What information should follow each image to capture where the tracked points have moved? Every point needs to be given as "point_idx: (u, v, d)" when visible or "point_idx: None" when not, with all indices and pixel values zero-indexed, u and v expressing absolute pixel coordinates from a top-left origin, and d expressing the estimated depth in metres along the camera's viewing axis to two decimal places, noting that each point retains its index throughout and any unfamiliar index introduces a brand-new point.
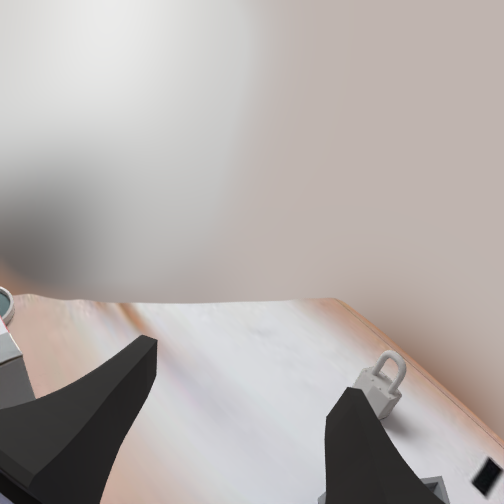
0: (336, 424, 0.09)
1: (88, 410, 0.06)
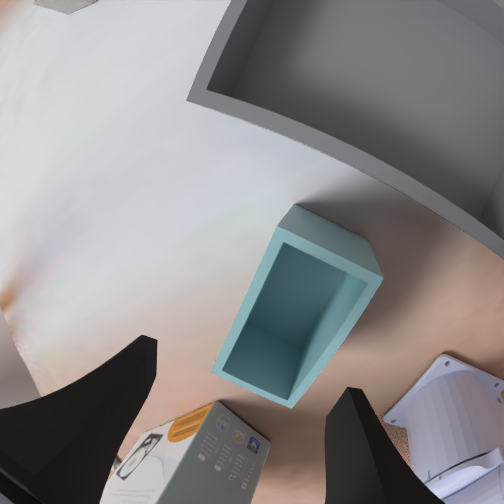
0: (336, 424, 0.09)
1: (89, 410, 0.06)
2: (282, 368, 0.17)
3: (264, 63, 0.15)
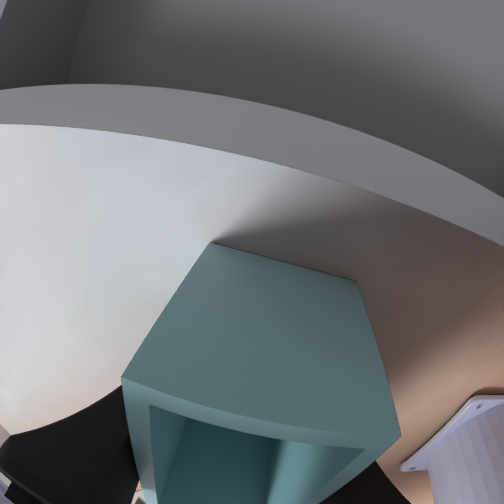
0: None
1: (124, 426, 0.06)
2: (248, 479, 0.10)
3: (110, 8, 0.06)
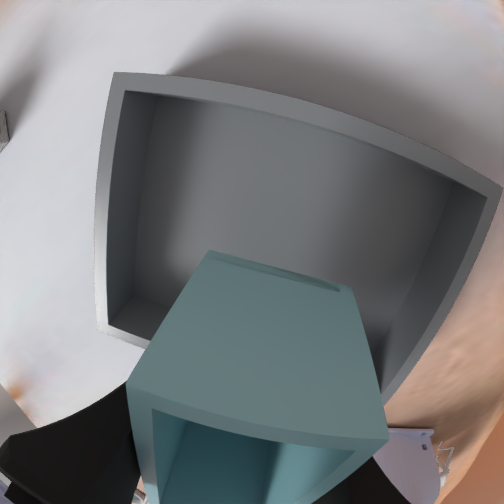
0: None
1: (124, 426, 0.06)
2: (246, 478, 0.10)
3: (150, 260, 0.17)
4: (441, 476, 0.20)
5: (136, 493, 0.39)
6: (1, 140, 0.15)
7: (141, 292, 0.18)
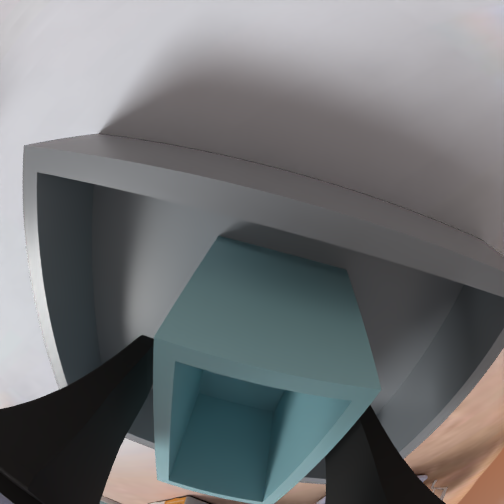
0: None
1: (88, 410, 0.06)
2: (251, 455, 0.11)
3: (113, 341, 0.14)
4: None
5: None
6: None
7: None
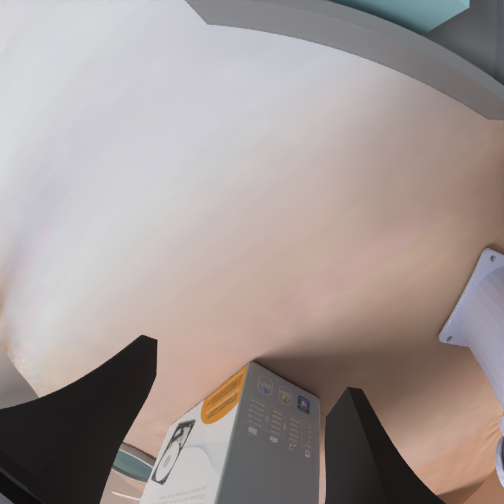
0: (336, 424, 0.09)
1: (88, 410, 0.06)
2: None
3: None
4: None
5: None
6: None
7: None
